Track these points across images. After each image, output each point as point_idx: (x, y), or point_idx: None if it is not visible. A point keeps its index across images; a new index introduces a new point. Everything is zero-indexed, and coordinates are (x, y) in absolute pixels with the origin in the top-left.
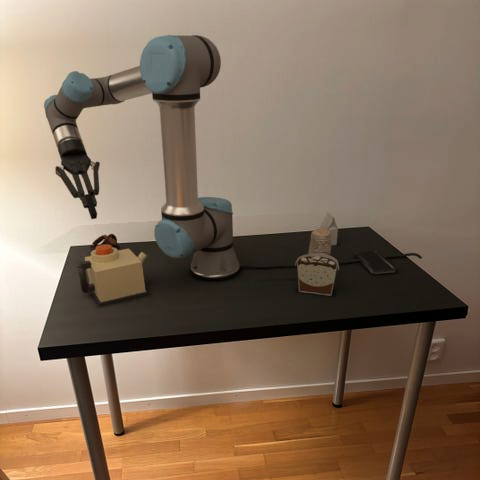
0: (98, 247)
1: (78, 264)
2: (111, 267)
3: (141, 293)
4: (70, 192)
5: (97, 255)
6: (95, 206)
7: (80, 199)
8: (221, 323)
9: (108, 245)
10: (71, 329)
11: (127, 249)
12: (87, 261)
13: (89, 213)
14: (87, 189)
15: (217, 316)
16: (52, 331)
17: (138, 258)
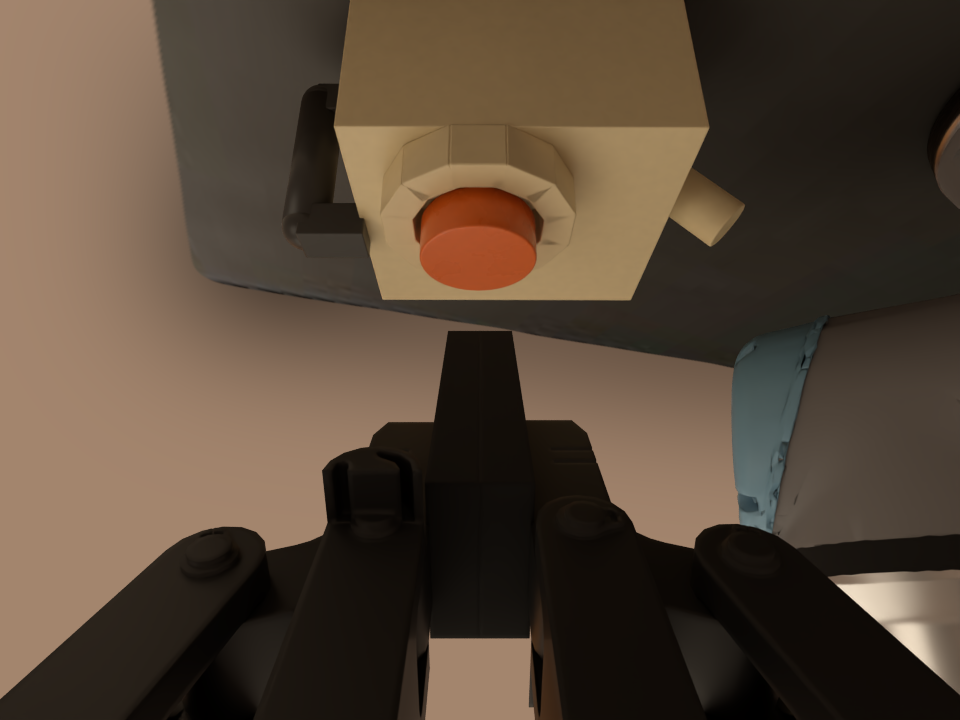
0: (442, 254)
1: (291, 243)
2: (469, 294)
3: None
4: (57, 669)
5: (419, 257)
6: (554, 426)
7: (334, 478)
8: (676, 341)
9: (520, 254)
10: (269, 239)
11: (687, 140)
12: (349, 241)
13: (444, 360)
14: (545, 702)
15: (697, 322)
16: (200, 226)
17: (673, 217)
